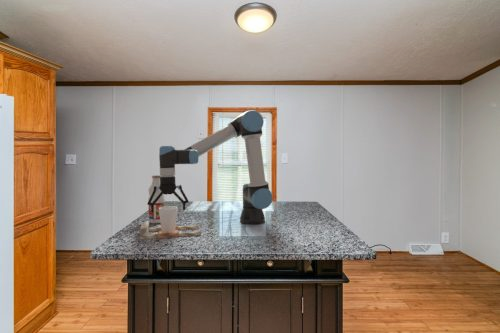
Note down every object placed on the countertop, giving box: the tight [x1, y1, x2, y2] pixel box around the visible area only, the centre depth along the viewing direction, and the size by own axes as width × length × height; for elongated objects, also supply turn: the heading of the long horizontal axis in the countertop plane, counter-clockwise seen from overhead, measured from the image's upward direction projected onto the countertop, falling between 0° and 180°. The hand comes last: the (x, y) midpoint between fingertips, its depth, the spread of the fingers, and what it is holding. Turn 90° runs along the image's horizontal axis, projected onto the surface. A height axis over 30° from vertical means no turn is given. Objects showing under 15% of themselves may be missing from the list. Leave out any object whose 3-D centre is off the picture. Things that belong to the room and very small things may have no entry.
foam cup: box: [159, 205, 179, 233], centre depth 152 cm, size 10×9×13 cm
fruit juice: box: [148, 174, 166, 224], centre depth 178 cm, size 9×9×28 cm
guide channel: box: [139, 221, 202, 240], centre depth 152 cm, size 29×15×5 cm, turn 105°
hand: (168, 217), depth 152 cm, fingers open, 13 cm apart
